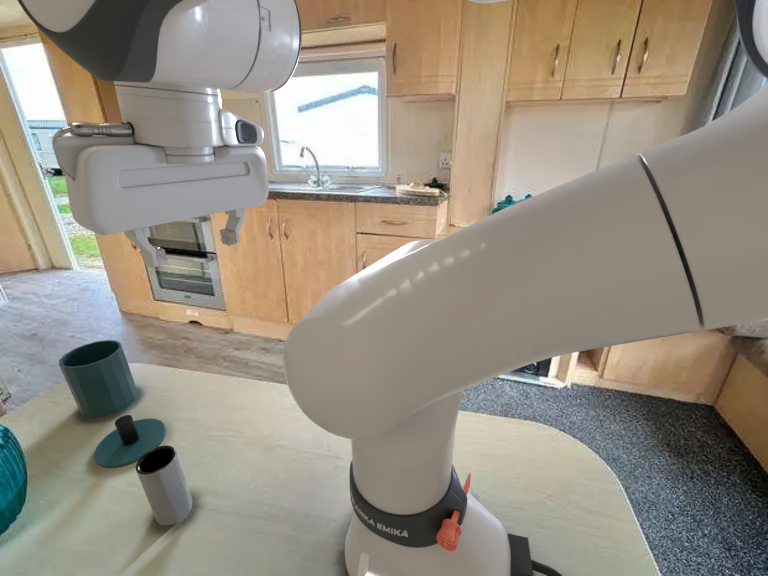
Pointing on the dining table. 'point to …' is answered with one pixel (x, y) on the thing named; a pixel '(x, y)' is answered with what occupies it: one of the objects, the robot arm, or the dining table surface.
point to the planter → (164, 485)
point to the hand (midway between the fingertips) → (197, 253)
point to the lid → (129, 441)
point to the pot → (99, 378)
